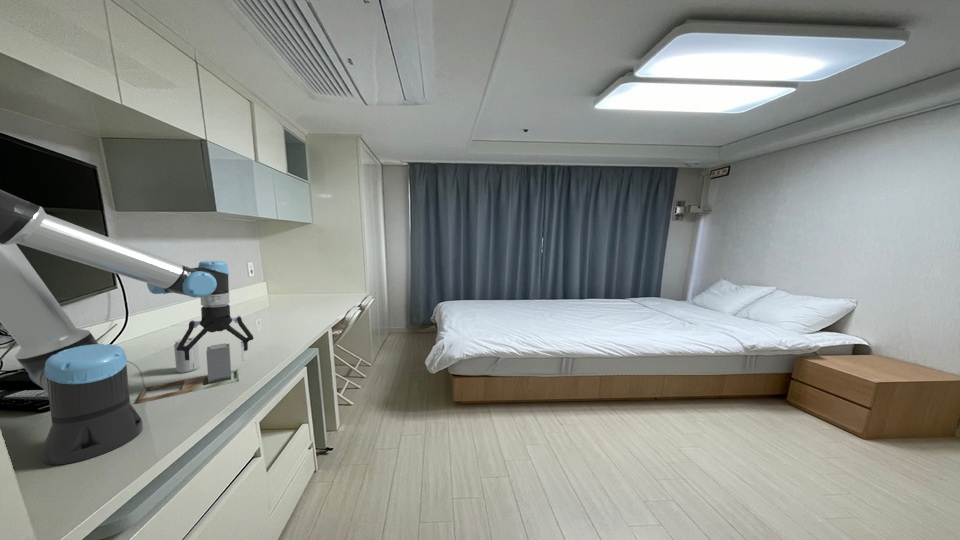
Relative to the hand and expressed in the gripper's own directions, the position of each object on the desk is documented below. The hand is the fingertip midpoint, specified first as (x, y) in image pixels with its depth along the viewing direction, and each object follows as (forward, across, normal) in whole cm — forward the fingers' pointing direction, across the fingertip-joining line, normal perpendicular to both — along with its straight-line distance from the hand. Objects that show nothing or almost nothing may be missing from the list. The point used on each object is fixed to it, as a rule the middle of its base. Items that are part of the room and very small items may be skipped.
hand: (218, 364), depth 106 cm
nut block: (+6, 0, 0) cm, 6 cm away
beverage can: (+6, -10, +18) cm, 21 cm away
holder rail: (+6, -7, 0) cm, 9 cm away
